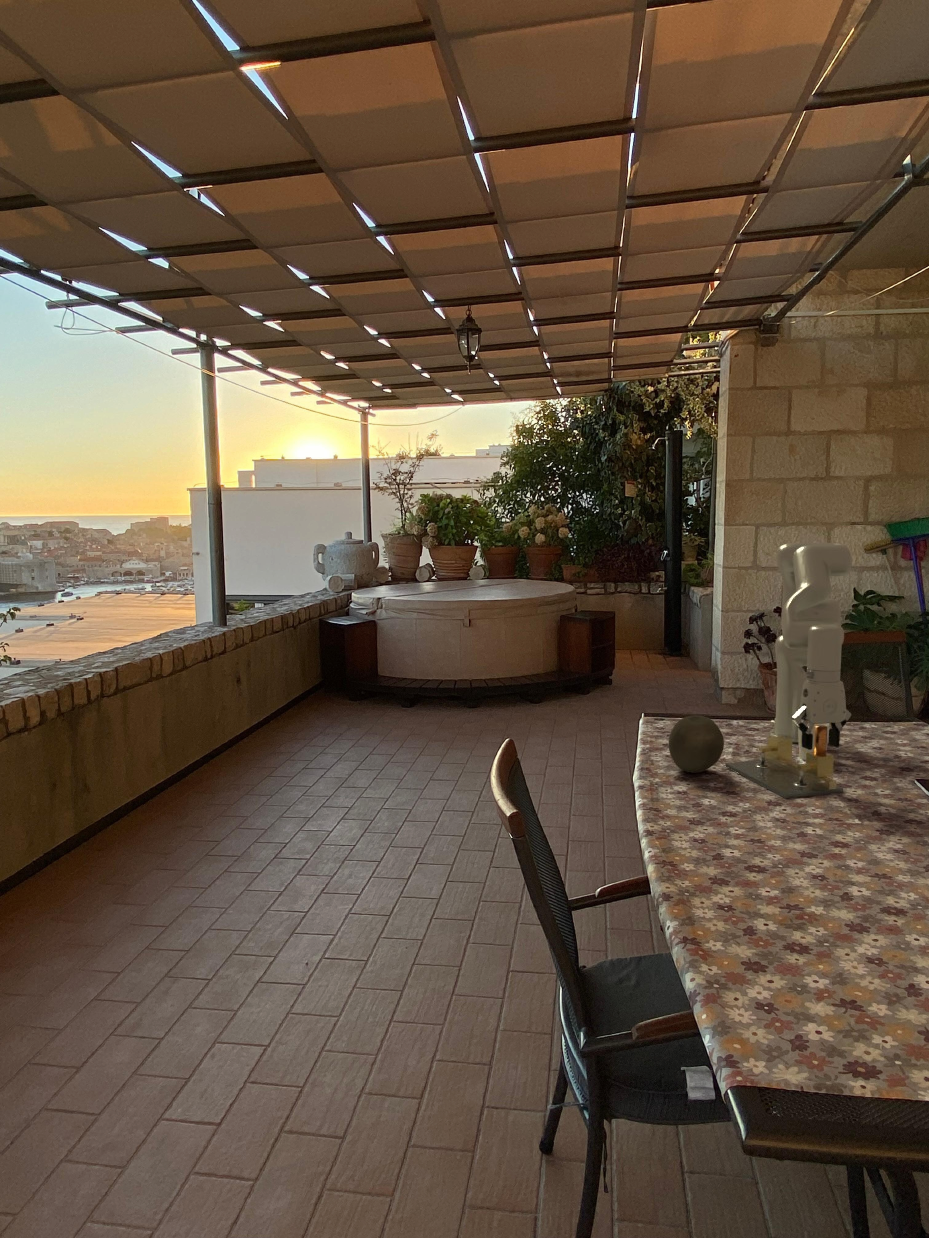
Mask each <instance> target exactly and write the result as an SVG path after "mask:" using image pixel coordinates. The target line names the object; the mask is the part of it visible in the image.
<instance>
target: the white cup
mask: <svg viewBox="0 0 929 1238" xmlns="http://www.w3.org/2000/svg"><path fill="white" fill-rule="evenodd" d="M801 721H802V722H803V720H801ZM808 724H809V723H808ZM815 725H824V726H827V745H829V743H828V740H829V729H830V723H826V724H815ZM815 725H814V727H813V729H812V731H811V734H813V746H812V750H808V749H806V748H804V747H802V731H800V729H799V728H798V740H799V742H798V748H799V749H798V757H799V759H801V760H803V761H806V753H807V752H814V738H815ZM807 726H808V725H807ZM827 750H828V747H827V748H826V751H827Z"/></svg>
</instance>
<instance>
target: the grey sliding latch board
mask: <svg viewBox="0 0 929 1238" xmlns="http://www.w3.org/2000/svg"><path fill="white" fill-rule="evenodd" d="M793 743H794V742H793V740H791V739H788V738H786V737H783V736H777V737H771V736H770V737H769V736H768V737H767V746H758V752H760V753H761V755H760V756H761V757H760V759H756V760H747V761H746V760H745V761H736V762H735V761H733V762H726V763H724V764H725V765H724V766H726V767H729V768H730V769H732V770H734V771H736V772H738V773H739V774H738V773H737V774H738V775H740V774H741V775H740V776H742V775H743V776H742V777H744V776H745V777H746V778H745V777H744V778H745V779H747V778H748V780H749V779H750V780H749V781H751V780H752V781H751V782H753V783H755V784H757V785H759V786H761V787H763V788H765V789H767V790H768V791H770V792H773V793H774V794H776V795H778V796H780V797H781V798H784V799H792V798H793V799H794V798H802V797H810V796H811V797H812V796H819V795H821V796H822V795H828V794H829V795H830V794H836V793H838V794H839V793H844V787H842V786H839V785H838V784H837V780H836V779H833V778H831V777H830V776H825V777H816V776H813V775H811V774H809V773H807V772H806V770H804V779H803V783H799V780H800V769H797V764H799V763H798V762H795V761H793V760H792V759H793ZM726 767H725V768H726ZM730 769H729V770H730ZM732 770H731V771H732ZM734 771H733V772H734ZM736 772H735V773H736Z"/></svg>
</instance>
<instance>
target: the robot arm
mask: <svg viewBox="0 0 929 1238" xmlns="http://www.w3.org/2000/svg"><path fill="white" fill-rule="evenodd" d="M776 563H777V564H776V565H777V566H778V571H779V573H780V576H781V579H782V580H781V581H782V585H783V586H782V587H783V588H782V601H781V602H782V604H781V605H782V606H781V607H782V608H781V617H780V618H781V619H780V621H781V635H780V636H778V637H777V638H776V640H775V643H774V651H775V660H776V661H775V662H776V701H775V703H776V704H775V706H776V707H775V718H774V720H773V719H771V720H770V724H771V725H773V729H772V730H770V731H769V736H770V737H777V736H783V737H786V738H788V739H791V740H793V743H799V740H798V728H799V729H800V731H802V747H804V748H806V749H808V750H812V746H813V734H811V731H812V729H813V727H814V725H815V724H826V723H829V726H830V727H829V734H828V745H830V746H832V747H834V748H839V747H840V740H841V732H842V731H843V727H845V725H846V724H847V722H848V721H849V719H850V718H851V716H852V713H851V712H850V711H849V710H848V709H847V705H846V702H847V701H846V692H845V686H844V682H843V681H842V680H841V669H842V667H841V664H842V648H843V647H842V645H843V644H844V640H845V631H844V630H845V629H844V628H843V627H842V626H841V624H842V623H841V621H842V619H841V618H842V612H841V611H842V610H841V606H840V604H839V602H838V601H837V600H836V599H833V598H830V597H831V594H832V585H831V577H845V576H847V575H849V574H850V572H851V570H852V567H853V566H852V565H853V557H852V553H851V551H850V549H849V547H848V546H847V545H846V544H842V543H839V542H791V543H789V542H788V543H784V544H782V545H780V546H779V547H778V548H777V550H776ZM803 667H806V671H805V670H804V669H803ZM801 720H803V722H802V721H801ZM808 723H809V724H808ZM807 725H808V726H807Z"/></svg>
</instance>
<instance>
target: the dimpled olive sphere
mask: <svg viewBox="0 0 929 1238" xmlns="http://www.w3.org/2000/svg"><path fill="white" fill-rule="evenodd" d="M724 747H725V739H724V736H723V734H722V731H721V730H720V727H719V726H718V725H717V723H716V722H715V721H714V720H713V719H712V718H709V717H707V716H703V715H688V716H685V717H683V718H681V719H679V720H678V721H677V722H676V723H675V724H674V726H673V727H672V729H671V731H670V733H669V737H668V750H669V755H670V756H671V759H672V761H673V762H674V764H675V766H676V767H677V768H678V769H680V770H681V771H683V772H685V771H686V773H689V772H691V774H696V773H702V772H705V771H707V770H708V769H710V768H711V767H713V766H714V765H716V763H718V761H719V760H720V759H721V757H722V754H723V751H724Z"/></svg>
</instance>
